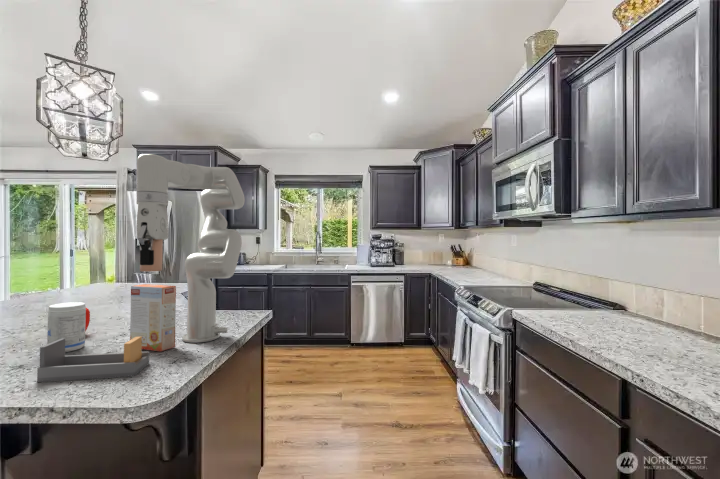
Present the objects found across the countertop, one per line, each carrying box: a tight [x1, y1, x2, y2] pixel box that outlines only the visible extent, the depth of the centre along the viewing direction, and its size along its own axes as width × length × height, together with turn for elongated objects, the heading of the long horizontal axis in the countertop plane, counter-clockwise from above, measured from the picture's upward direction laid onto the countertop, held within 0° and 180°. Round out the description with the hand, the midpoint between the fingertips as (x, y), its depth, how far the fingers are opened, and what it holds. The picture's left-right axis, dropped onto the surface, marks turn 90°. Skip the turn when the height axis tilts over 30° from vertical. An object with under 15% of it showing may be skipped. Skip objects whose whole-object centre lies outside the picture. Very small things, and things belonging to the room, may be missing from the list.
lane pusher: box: [123, 336, 143, 363], centre depth 94 cm, size 2×7×7 cm, turn 11°
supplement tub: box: [46, 301, 87, 353], centre depth 112 cm, size 10×10×15 cm
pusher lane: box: [36, 338, 150, 383], centre depth 93 cm, size 22×10×8 cm, turn 101°
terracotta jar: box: [139, 237, 164, 273], centre depth 96 cm, size 6×6×10 cm
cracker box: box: [129, 283, 177, 353], centre depth 115 cm, size 14×6×21 cm, turn 71°
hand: (151, 263), depth 96 cm, fingers closed on terracotta jar, 5 cm apart
